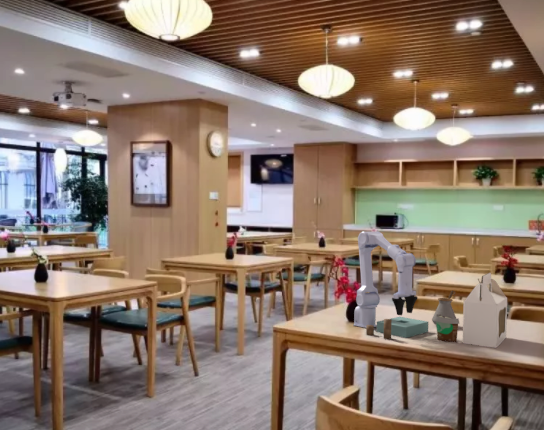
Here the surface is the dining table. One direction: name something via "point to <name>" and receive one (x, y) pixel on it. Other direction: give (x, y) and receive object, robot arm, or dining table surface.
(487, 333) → the gable box
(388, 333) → the tall pin
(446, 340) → the food container
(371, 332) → the short pin
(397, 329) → the hole plate
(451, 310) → the coffee pot
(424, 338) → the dining table surface
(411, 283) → the robot arm
